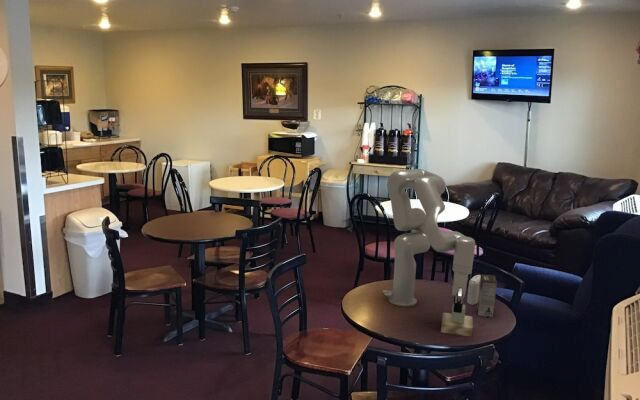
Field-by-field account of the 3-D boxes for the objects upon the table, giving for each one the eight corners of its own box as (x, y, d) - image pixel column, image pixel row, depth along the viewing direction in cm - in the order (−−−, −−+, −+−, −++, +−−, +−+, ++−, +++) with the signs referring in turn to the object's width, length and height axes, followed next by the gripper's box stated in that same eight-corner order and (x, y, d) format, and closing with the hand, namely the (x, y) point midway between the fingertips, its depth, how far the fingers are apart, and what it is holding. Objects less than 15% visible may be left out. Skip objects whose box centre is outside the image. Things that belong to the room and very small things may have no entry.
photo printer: (474, 305, 251) (477, 279, 249) (465, 303, 254) (468, 277, 252) (483, 299, 259) (486, 274, 257) (475, 297, 262) (477, 272, 259)
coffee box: (476, 307, 249) (480, 273, 246) (491, 309, 248) (495, 275, 245) (478, 315, 240) (481, 280, 237) (493, 317, 239) (497, 282, 236)
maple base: (440, 333, 223) (441, 324, 222) (441, 321, 234) (442, 312, 233) (471, 337, 220) (472, 328, 219) (471, 325, 231) (472, 316, 231)
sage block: (451, 321, 224) (452, 307, 223) (451, 317, 229) (452, 303, 228) (463, 323, 223) (465, 309, 222) (463, 318, 228) (465, 304, 227)
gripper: (453, 259, 231) (448, 298, 235) (452, 273, 214) (447, 314, 218) (471, 262, 229) (466, 300, 233) (472, 276, 213) (467, 317, 217)
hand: (457, 307), depth 226 cm, fingers open, 9 cm apart
